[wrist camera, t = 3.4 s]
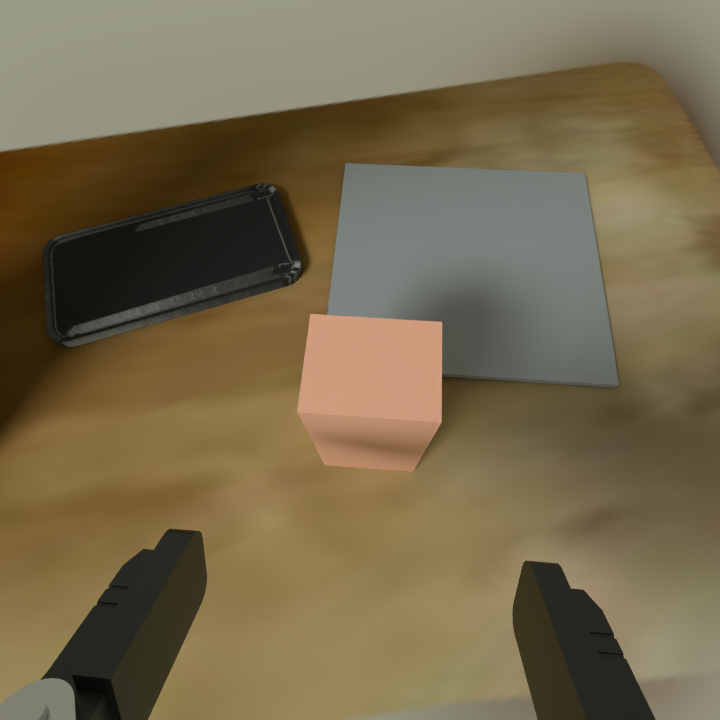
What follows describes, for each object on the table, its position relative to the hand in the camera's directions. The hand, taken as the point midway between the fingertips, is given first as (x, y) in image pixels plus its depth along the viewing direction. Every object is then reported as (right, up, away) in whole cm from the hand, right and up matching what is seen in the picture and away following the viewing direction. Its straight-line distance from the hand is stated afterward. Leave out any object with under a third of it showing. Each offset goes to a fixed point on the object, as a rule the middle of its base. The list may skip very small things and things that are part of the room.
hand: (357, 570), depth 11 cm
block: (+1, +1, +12) cm, 12 cm away
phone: (-12, +11, +17) cm, 24 cm away
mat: (+6, +11, +16) cm, 21 cm away
